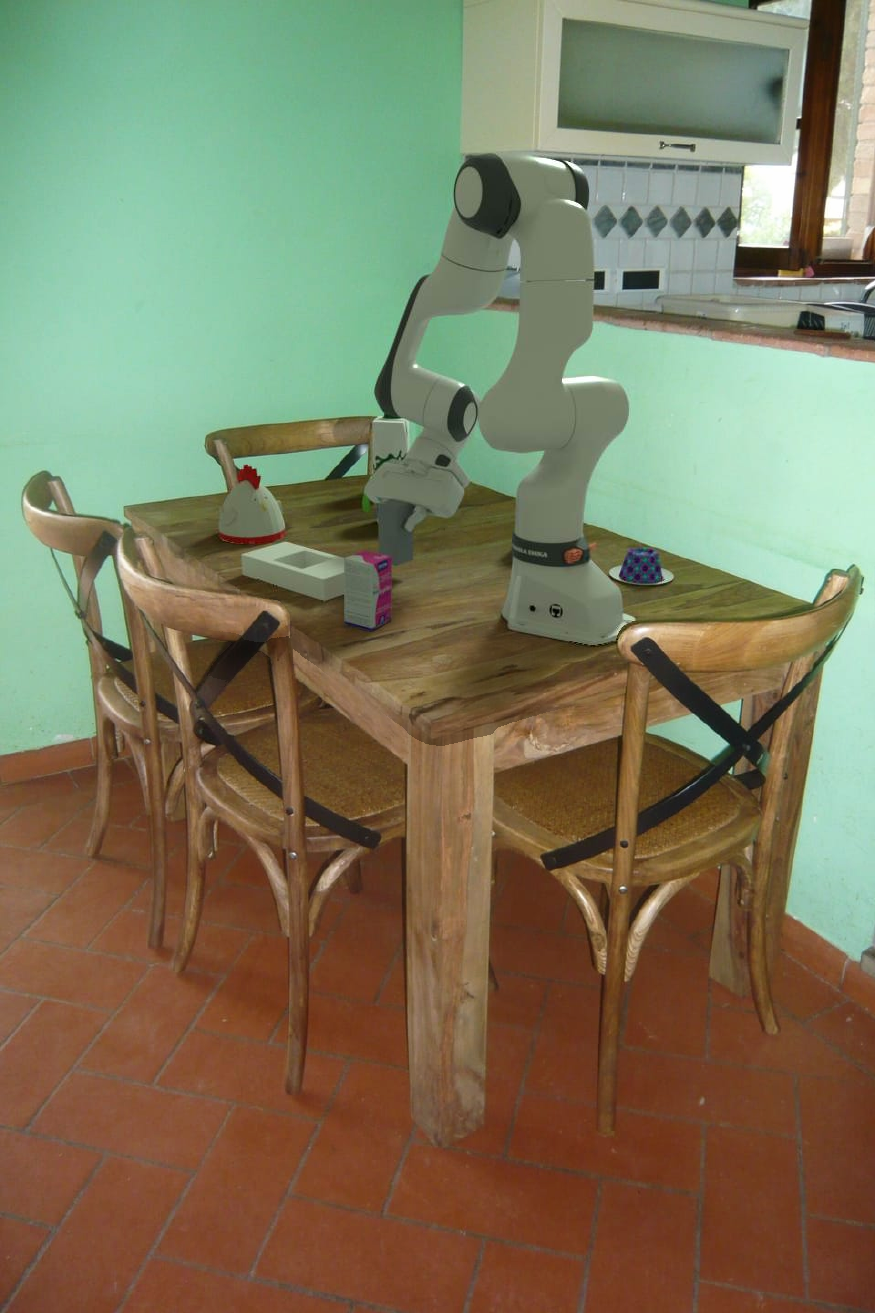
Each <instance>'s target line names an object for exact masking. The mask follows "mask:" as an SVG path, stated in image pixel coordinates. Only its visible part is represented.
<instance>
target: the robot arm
mask: <svg viewBox="0 0 875 1313" xmlns="http://www.w3.org/2000/svg"><path fill="white" fill-rule="evenodd" d="M589 186H590V185H589V181H588V178H587V177H586V174H585V172H584V171H583V170H582V168H580V167H579V166H577V165H576V164H575V163H572V162H569V161H567V160H564V159H560V158H555V159H552V158H546V157H541V156H535V155H530V154H527V153H503V154H502V153H501V154H496V153H492V152H489V153H483V154H478V155H474V156H472V157H470V158H468V159H466V160H465V161H464V162H463V163H462V165H461V166H460V168H459V170H458V172H457V174H456V178H455V180H454V185H453V203H454V206H453V210H452V212H451V214H450V218H449V220H448V224H447V228H446V231H445V234H444V237H443V243H442V247H441V251H440V257H439V259H438V262H437V264H436V266H435V267H434V269H433V271H432V272H431V273H430V274H425V275H423V276H421V277H420V278H419V280H418V281H417V282H416V283H415V286H414V287H413V289H412V291H411V293H410V295H409V298H408V300H407V303H406V305H405V308H404V310H403V313H402V317H401V319H400V322H399V323H398V326H397V330H396V333H395V335H394V338H393V342H392V344H391V346H390V349H389V352H388V355H387V357H386V360H385V362H384V363H383V365H382V367H381V370H380V372H379V374H378V377H377V378H376V382H375V385H374V389H373V391H374V392H373V393H374V394H373V395H374V397H375V400H376V403H377V405H378V406H379V409H381V411H382V413H383V414H384V413H385V414H388V415H391V416H395V417H398V418H403V419H406V420H408V421H409V422H410V423H414V424H416V425H419V426H420V427H423V429H422V431H421V432H420V433H419V434H418V435H417V436H416V437H415V439H414V441H413V443H411V446H410V449H409V451H408V453H407V455H406V456H405V458H404V460H397V459H391V460H390V461H387V462H384V463H383V464H382V465H381V466H380V467H379V468H378V469H377V470H376V472H375V473H374V474H373V473H372V475H371V476H372V477H371V476H370V477H371V479H370V478H369V479H370V480H368V481H367V483H366V484H365V486H364V491H365V494H366V496H367V497H368V498H369V499H370V502H372V503H373V504H374V503H380V502H383V501H387V500H391V499H394V500H399V501H404V502H408V503H411V504H413V514H412V515H411V516H410V517H409V518H408V519H406V518H404V520H403V523H402V524H401V528H402V529H403V530H405V531H408V532H411V531H412V529H413V530H414V527H415V526H416V525H417V524H418V523H420V522H422V521H423V520H424V519H426V516H427V515H430V516H434V517H439V518H443V519H449V518H451V517H452V516H454V515H455V513H456V511H457V510H458V508H459V507H460V504H461V502H462V500H463V497H464V495H465V489H466V488H467V487H468V486H469V485H470V483H471V480H470V477H469V475H468V474H467V473H466V471H465V470H464V469H463V467H462V466H461V465H460V464H459V463H458V456H459V454H460V453H461V451H462V450H463V449H464V448H465V447H466V445H467V443H468V442H469V439H470V438H471V436H472V435H473V432H474V430H475V427H476V425H477V424H478V428H479V431H480V433H481V436H482V438H483V439H484V441H485V442H486V443H487V445H489V447H490V448H492V449H493V450H496V451H501V452H507V453H516V454H517V453H518V454H528V453H534V452H535V453H536V452H543V454H542V457H541V458H540V461H539V463H538V464H537V465H536V466H535V468H533V469H532V471H531V472H529V473H527V475H525V477H523V478H522V480H521V481H520V482H519V484H518V486H517V489H516V494H515V495H516V496H515V515H514V516H515V517H514V518H515V519H514V522H515V523H514V531H512V535H511V548H510V549H511V551H510V552H511V553H510V554H511V558H512V566H511V574H510V579H509V586H508V590H507V594H506V595H507V596H506V598H505V599H506V600H505V601H504V605H503V608H502V610H501V615H502V617H503V618H504V619H505V620H506V622H507V628H508V629H509V630H512V631H515V632H521V633H525V634H530V635H535V636H540V637H545V638H550V639H555V640H560V641H565V642H569V641H573V642H572V643H574V642H578V643H577V644H579V643H583V644H582V645H584V644H588V645H587V646H590V645H594V644H601V643H606V642H609V641H613V642H616V641H617V640H616V638H617V635H618V633H619V631H620V630H621V628H622V627H623V626H624V625H626V624H628V623H631V622H632V621H636V618H635V617H634V616H632V615H630V614H627V613H626V612H625V613H624V605H623V598H622V597H623V596H622V592H621V590H620V588H619V586H618V585H617V584H616V583H614V581H613V580H611V579H610V577H608V576H607V575H606V573H604V571H602V569H601V568H600V567H599V566H598V565H597V564H596V563H595V562H594V561H593V560H592V559H591V558H592V556H591V552H592V551H594V550H596V549H597V547H595V546H596V545H597V542H593V543H592V542H591V543H589V544H588V542H587V539H586V536H585V534H584V533H583V531H584V520H585V512H586V511H585V508H586V501H587V500H586V499H587V494H588V488H589V485H590V481H591V478H592V476H593V474H594V471H595V469H596V466H597V464H598V462H599V460H600V459H601V457H602V455H603V454H604V452H605V450H607V448H608V447H609V446H610V444H611V443H612V442H613V441H614V440H615V439H616V438H617V437H618V436H620V434H622V432H623V431H624V429H625V427H626V425H627V423H628V419H629V414H630V403H629V399H628V395H627V393H626V390H625V389H624V387H623V385H622V384H620V382H619V381H617V380H616V379H613V378H607V377H605V376H604V377H603V376H597V375H591V374H583V375H582V374H581V375H572V376H571V375H570V376H564V375H565V370H566V366H567V364H568V362H569V360H570V358H571V357H572V355H573V354H575V353H574V352H576V351H577V350H578V349H580V348H581V347H582V346H584V345H585V344H586V343H587V342H588V340H590V338H591V335H592V333H593V329H594V304H595V303H594V302H595V300H594V298H595V296H594V295H595V252H594V240H593V234H592V233H593V232H592V226H591V219H590V217H589V214H588V211H587V210H588V207H589V202H590V187H589ZM514 240H515V242H517V245H518V247H519V252H520V255H519V256H520V266H519V281H520V282H519V307H518V308H519V311H518V312H519V313H518V326H517V328H518V329H517V335H516V342H515V345H514V348H513V352H512V355H511V357H510V359H509V362H508V364H507V366H506V367H505V370H504V371H503V373H502V375H501V376H500V377H499V378H498V380H497V381H496V382H495V383H494V384H493V385H492V386H491V387H490V388H489V389H488V390H487V391H486V392H485V394H484V395H483V397H482V398H480V397H479V395H478V393H476V392H475V391H474V390H473V389H472V388H470V386H468V385H467V384H465V383H463V382H461V381H458V380H457V379H454V378H451V377H448V376H446V375H442V374H440V373H438V372H434V371H433V370H430V369H426V368H424V367H422V366H420V365H419V363H417V360H416V358H417V357H416V356H417V355H418V352H419V349H420V347H421V344H422V341H423V338H424V336H425V333H426V331H427V329H428V326H429V323H430V322H431V320H432V319H433V318H436V317H444V316H464V315H468V314H473V313H476V312H479V311H482V310H483V309H485V308H488V306H490V305H491V304H492V303H493V302H494V301H495V300H496V299H497V298H498V295H499V293H500V291H501V288H502V286H503V284H504V280H505V276H506V273H507V267H508V263H509V259H510V253H511V247H512V245H513V242H514ZM376 522H377V523H378V519H376Z"/></svg>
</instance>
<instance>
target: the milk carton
mask: <svg viewBox="0 0 875 1313" xmlns="http://www.w3.org/2000/svg"><path fill="white" fill-rule="evenodd" d="M371 423H372V427H371V428H372V429H371V435H372V438H371V439H372V441H371V444H372V475H373V474H374V473H375V472H376V470H377V469H378V468H379V467H380V466H381V465H382V464H383V463H384V462H387V461H390V460H391V459H397V460H404V458H405V456H406V455H407V453H408V451H409V449H410V448H411V446H410V445H411V444H410V443H411V439H410V421H408V420H406V419H403V418H398V417H395V416H391V415H388V414H385V413H383V416H382V415H379V416H377V417H375V418H374V419H373V421H372V422H371Z"/></svg>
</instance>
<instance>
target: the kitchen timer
mask: <svg viewBox="0 0 875 1313" xmlns="http://www.w3.org/2000/svg"><path fill="white" fill-rule="evenodd" d="M236 477H237V480H238V483H237V484H236V485H235V486H234V487H233V488H232V489H231V491H230V492H229V493H228V494H227V496H226V497H225V500H224V501H223V504H222V506H219V508H218V509H219V510H218V513H219V520H218V537H219V536H220V538H222V539H224V540H227V541H229V542H234V543H243V544H257V545H260V544H259V543H265V544H268V543H267V542H270V543H272V542H271V541H275V540H277V539H280V538H282V537H283V538H285V536H286V535H287V534H286V524H285V520H284V516H283V512H284V510H283V505H282V502H281V500H276V498H275V497H274V495H273V494H272V492H271V491H270V490H269V489H268V487H266V486H264V484H262V483H260V482H261V478H262V475H258V469H257V468H253V466H252V465H248V464H243V468H240V469H239V472H237V473H236ZM220 538H219V539H220ZM283 538H282V539H283ZM280 540H281V539H280ZM277 541H278V540H277ZM275 542H276V541H275Z"/></svg>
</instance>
